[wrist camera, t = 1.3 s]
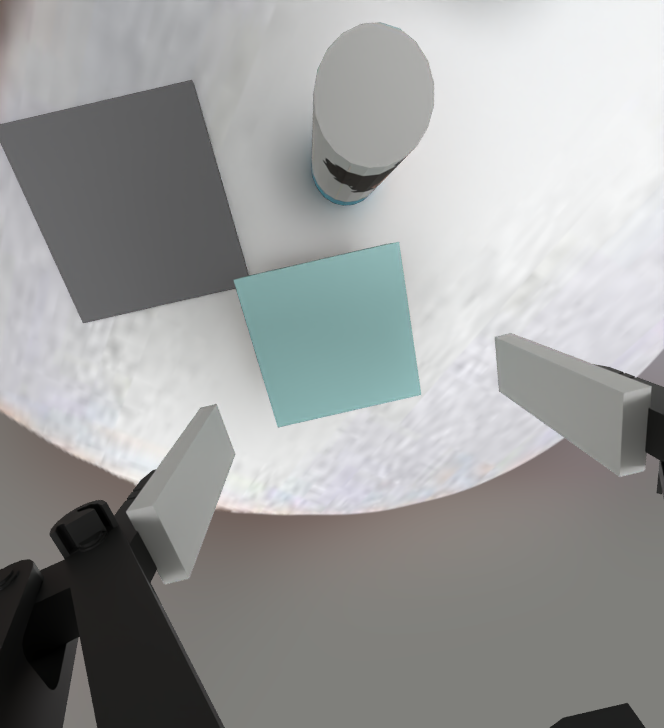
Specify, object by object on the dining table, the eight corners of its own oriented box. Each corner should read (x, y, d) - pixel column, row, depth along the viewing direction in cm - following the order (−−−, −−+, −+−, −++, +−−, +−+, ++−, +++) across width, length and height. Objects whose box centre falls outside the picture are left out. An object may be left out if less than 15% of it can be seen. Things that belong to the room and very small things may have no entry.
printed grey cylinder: (376, 208, 34) (424, 173, 20) (309, 202, 34) (310, 162, 19) (383, 131, 32) (443, 30, 18) (313, 123, 32) (316, 14, 17)
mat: (-4, 127, 30) (-8, 126, 30) (193, 82, 30) (191, 79, 30) (85, 322, 36) (83, 323, 35) (251, 284, 36) (250, 284, 35)
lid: (246, 276, 29) (233, 279, 24) (383, 244, 29) (398, 241, 24) (282, 401, 32) (277, 427, 28) (404, 373, 32) (421, 394, 27)
